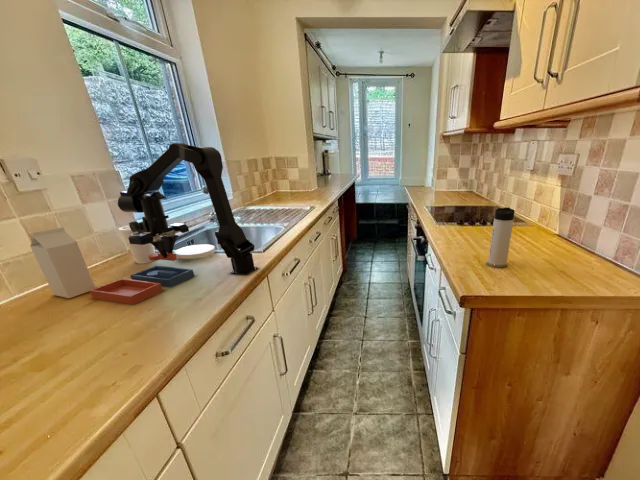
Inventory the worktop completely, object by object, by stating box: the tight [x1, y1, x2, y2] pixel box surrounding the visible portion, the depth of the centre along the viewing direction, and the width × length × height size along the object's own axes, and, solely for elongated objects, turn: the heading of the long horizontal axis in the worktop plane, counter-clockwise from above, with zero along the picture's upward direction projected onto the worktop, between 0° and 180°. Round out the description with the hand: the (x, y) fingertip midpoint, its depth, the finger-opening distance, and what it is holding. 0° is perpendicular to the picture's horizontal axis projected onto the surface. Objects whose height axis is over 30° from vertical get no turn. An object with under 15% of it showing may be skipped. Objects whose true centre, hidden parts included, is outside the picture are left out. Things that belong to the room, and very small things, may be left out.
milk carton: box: [29, 226, 97, 299], centre depth 91 cm, size 7×7×19 cm
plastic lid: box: [174, 243, 216, 260], centre depth 126 cm, size 14×14×2 cm
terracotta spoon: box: [148, 252, 178, 262], centre depth 114 cm, size 11×5×2 cm, turn 75°
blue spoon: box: [147, 270, 178, 279], centre depth 103 cm, size 11×5×2 cm, turn 75°
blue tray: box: [129, 265, 195, 288], centre depth 104 cm, size 15×9×2 cm, turn 75°
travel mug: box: [487, 206, 516, 269], centre depth 111 cm, size 6×7×20 cm
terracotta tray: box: [89, 277, 164, 305], centre depth 93 cm, size 15×9×2 cm, turn 75°
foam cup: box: [118, 225, 156, 264], centre depth 119 cm, size 10×9×13 cm
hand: (167, 256), depth 113 cm, fingers closed on terracotta spoon, 2 cm apart
